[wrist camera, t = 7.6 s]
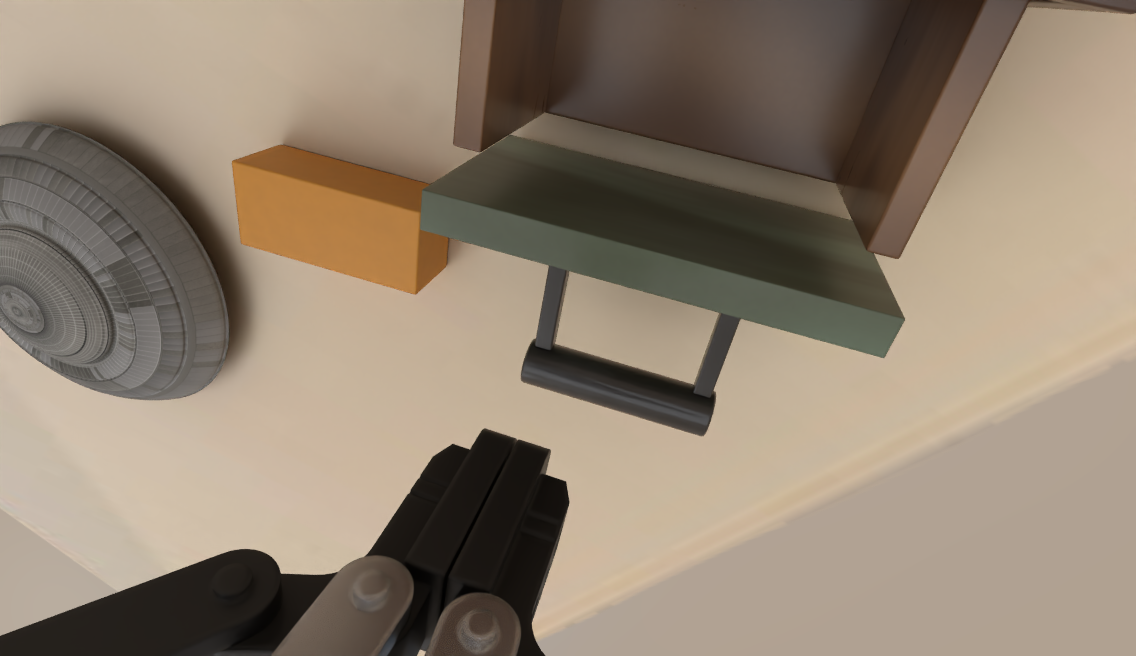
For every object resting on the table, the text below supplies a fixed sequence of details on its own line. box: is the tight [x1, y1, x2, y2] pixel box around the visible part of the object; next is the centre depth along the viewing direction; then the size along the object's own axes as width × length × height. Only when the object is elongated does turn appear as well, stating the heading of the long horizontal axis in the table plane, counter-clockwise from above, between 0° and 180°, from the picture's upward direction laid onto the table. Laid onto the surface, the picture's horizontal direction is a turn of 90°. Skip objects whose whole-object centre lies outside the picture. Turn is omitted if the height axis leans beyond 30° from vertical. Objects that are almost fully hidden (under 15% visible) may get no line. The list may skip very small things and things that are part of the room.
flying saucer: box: [0, 122, 229, 400], centre depth 30 cm, size 15×15×6 cm
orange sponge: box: [232, 145, 448, 294], centre depth 25 cm, size 8×4×3 cm, turn 80°
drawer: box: [420, 0, 1030, 436], centre depth 17 cm, size 19×13×7 cm, turn 170°
